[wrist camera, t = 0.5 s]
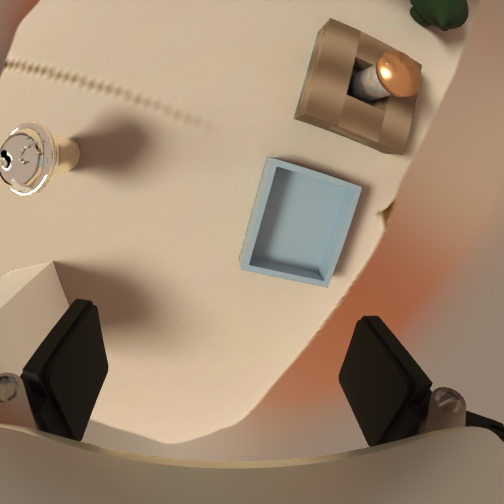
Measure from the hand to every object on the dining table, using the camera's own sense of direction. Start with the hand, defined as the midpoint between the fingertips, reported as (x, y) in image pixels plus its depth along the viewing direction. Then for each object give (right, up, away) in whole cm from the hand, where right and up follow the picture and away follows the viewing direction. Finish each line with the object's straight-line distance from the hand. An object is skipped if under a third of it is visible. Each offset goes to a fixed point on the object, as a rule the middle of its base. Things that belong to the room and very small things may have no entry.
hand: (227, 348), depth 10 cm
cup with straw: (-25, +17, +24) cm, 38 cm away
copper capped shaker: (+15, +25, +23) cm, 37 cm away
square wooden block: (+15, +25, +24) cm, 38 cm away
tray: (+7, +8, +30) cm, 31 cm away
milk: (-35, -5, +30) cm, 46 cm away
